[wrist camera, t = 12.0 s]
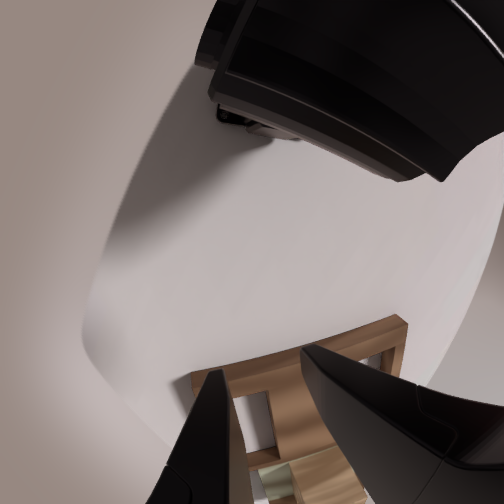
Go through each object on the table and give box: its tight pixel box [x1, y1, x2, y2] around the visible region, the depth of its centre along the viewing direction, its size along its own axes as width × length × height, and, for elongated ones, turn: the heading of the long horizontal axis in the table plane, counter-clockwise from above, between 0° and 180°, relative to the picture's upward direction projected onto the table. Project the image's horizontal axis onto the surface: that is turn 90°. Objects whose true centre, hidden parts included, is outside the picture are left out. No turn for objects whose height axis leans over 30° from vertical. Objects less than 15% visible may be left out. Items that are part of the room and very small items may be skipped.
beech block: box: [289, 446, 367, 504], centre depth 25 cm, size 10×6×8 cm, turn 9°
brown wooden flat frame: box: [191, 314, 408, 504], centre depth 26 cm, size 27×19×5 cm
